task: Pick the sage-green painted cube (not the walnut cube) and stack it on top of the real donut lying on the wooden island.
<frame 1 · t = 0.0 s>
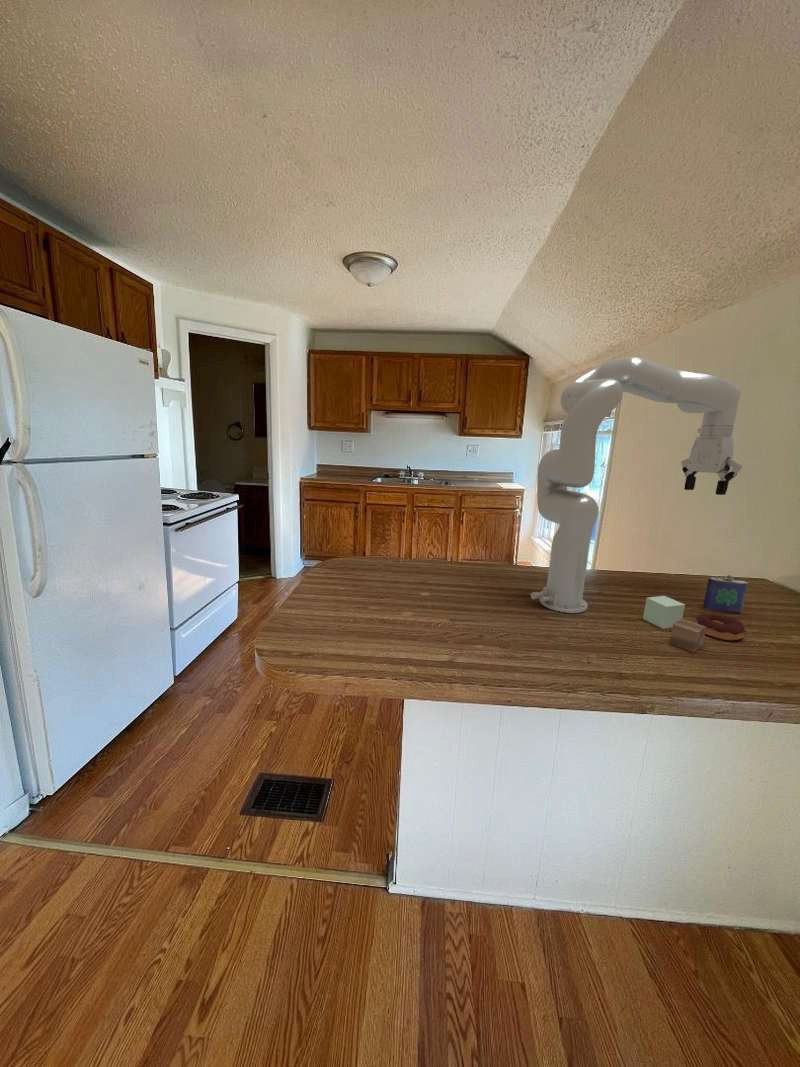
hand: (704, 492, 126), 31 cm above the table, fingers open, 9 cm apart
donut: (717, 634, 106), on the table
walnut block: (685, 645, 99), on the table
flask: (721, 611, 119), on the table
sage block: (661, 622, 110), on the table
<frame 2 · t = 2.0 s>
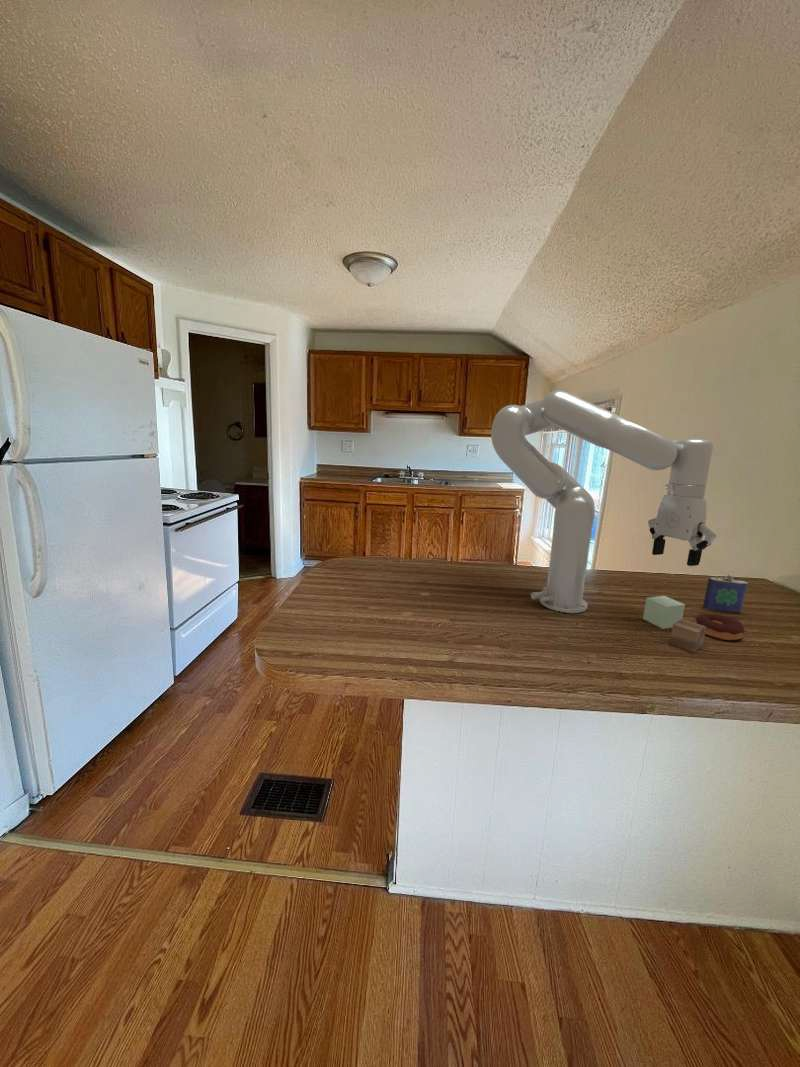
hand: (674, 559, 107), 17 cm above the table, fingers open, 9 cm apart
nothing on the table moved.
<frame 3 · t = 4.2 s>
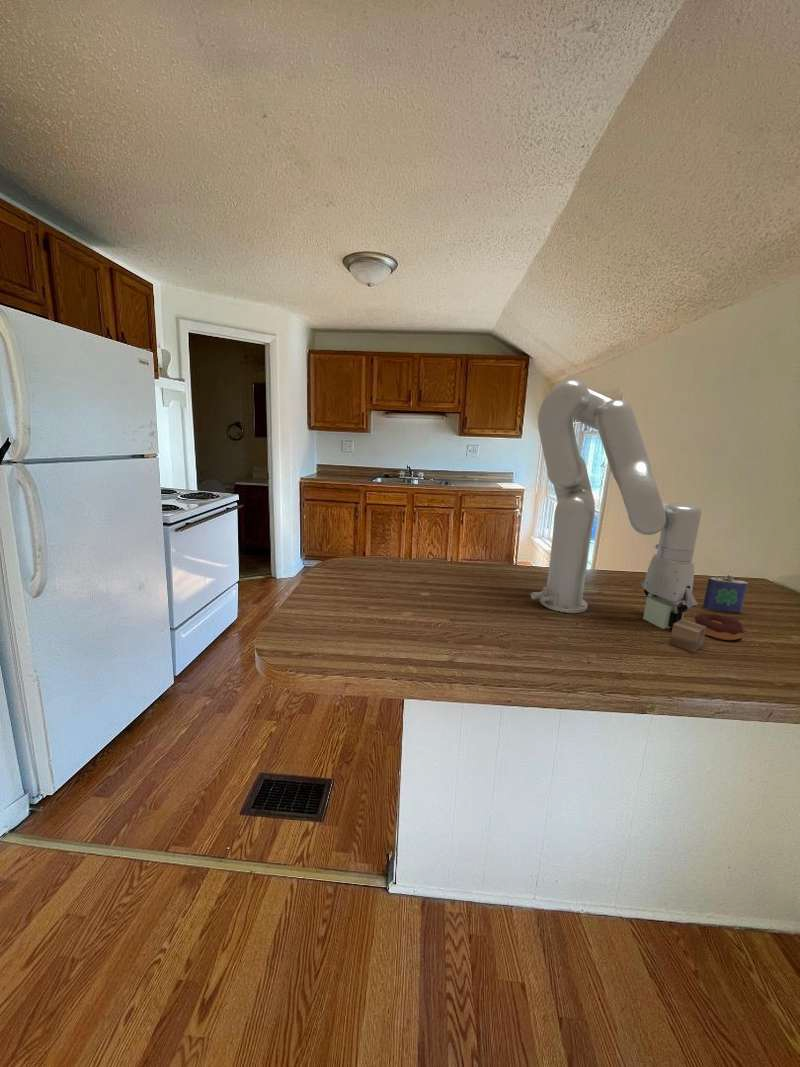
hand: (662, 620, 110), 1 cm above the table, fingers closed on sage block, 6 cm apart
sage block: (661, 622, 110), on the table, touching gripper
everything else where it was.
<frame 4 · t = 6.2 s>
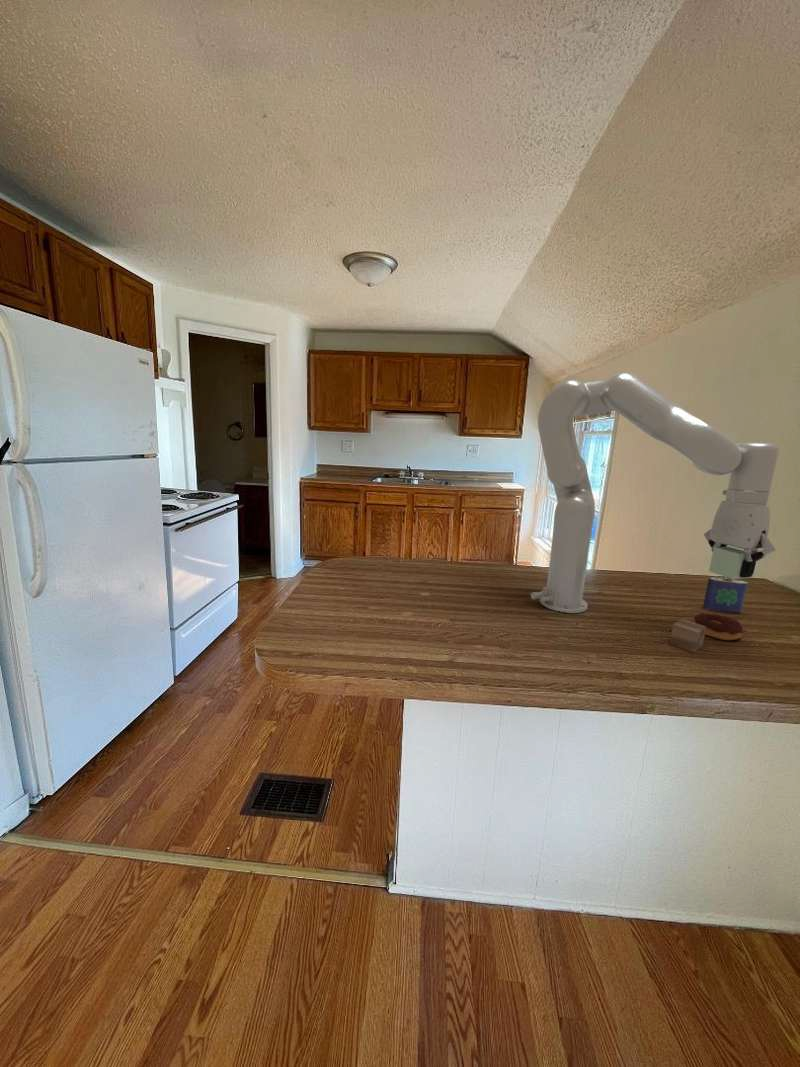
hand: (730, 571, 102), 16 cm above the table, fingers closed on sage block, 6 cm apart
sage block: (730, 574, 102), point 15 cm above the table, touching gripper
everything else where it was.
when the fingers open (7 cm above the table, at t = 8.3 s): sage block drops 2 cm, resting on donut.
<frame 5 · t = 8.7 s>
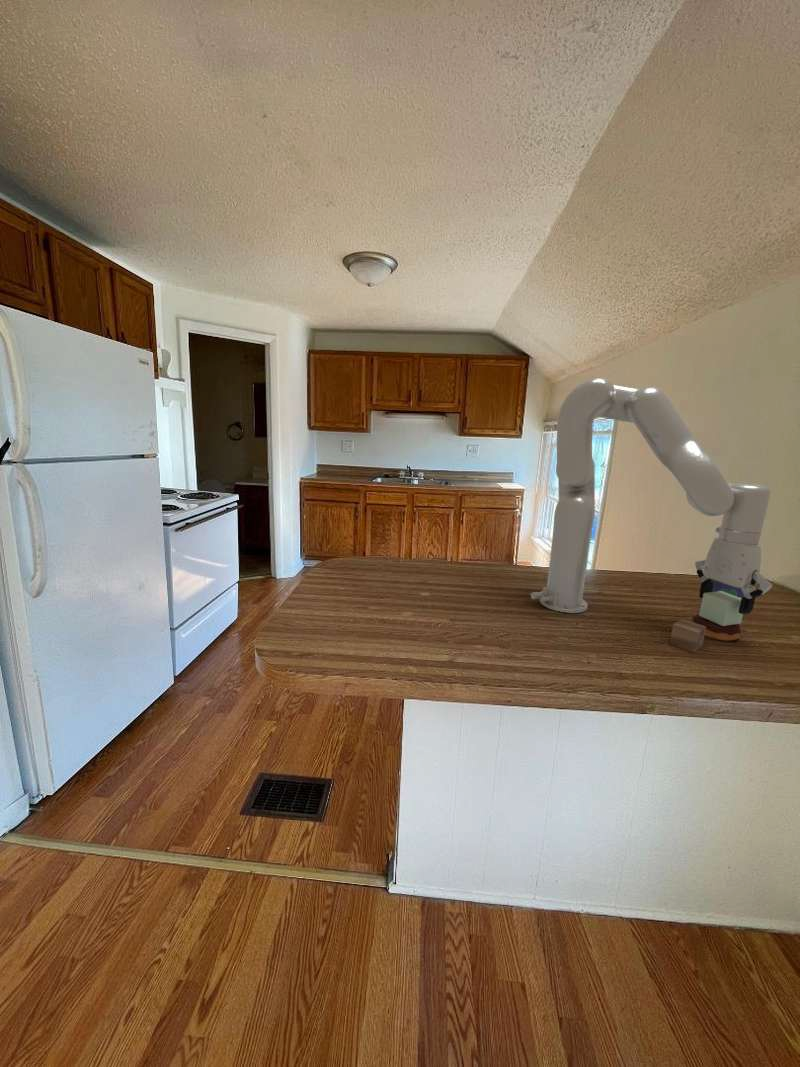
hand: (723, 604, 104), 7 cm above the table, fingers open, 9 cm apart
donut: (713, 634, 106), on the table, touching sage block
sage block: (719, 619, 105), point 3 cm above the table, touching donut
everything else where it was.
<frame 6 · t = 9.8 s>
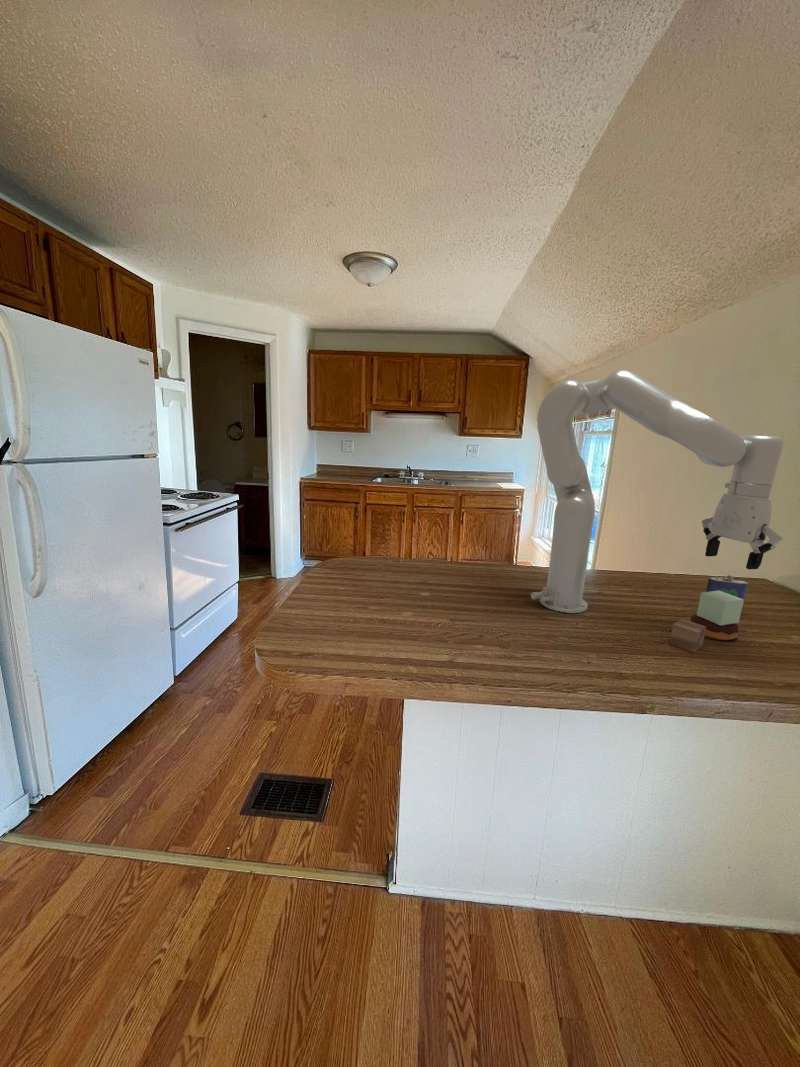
hand: (730, 562, 102), 18 cm above the table, fingers open, 9 cm apart
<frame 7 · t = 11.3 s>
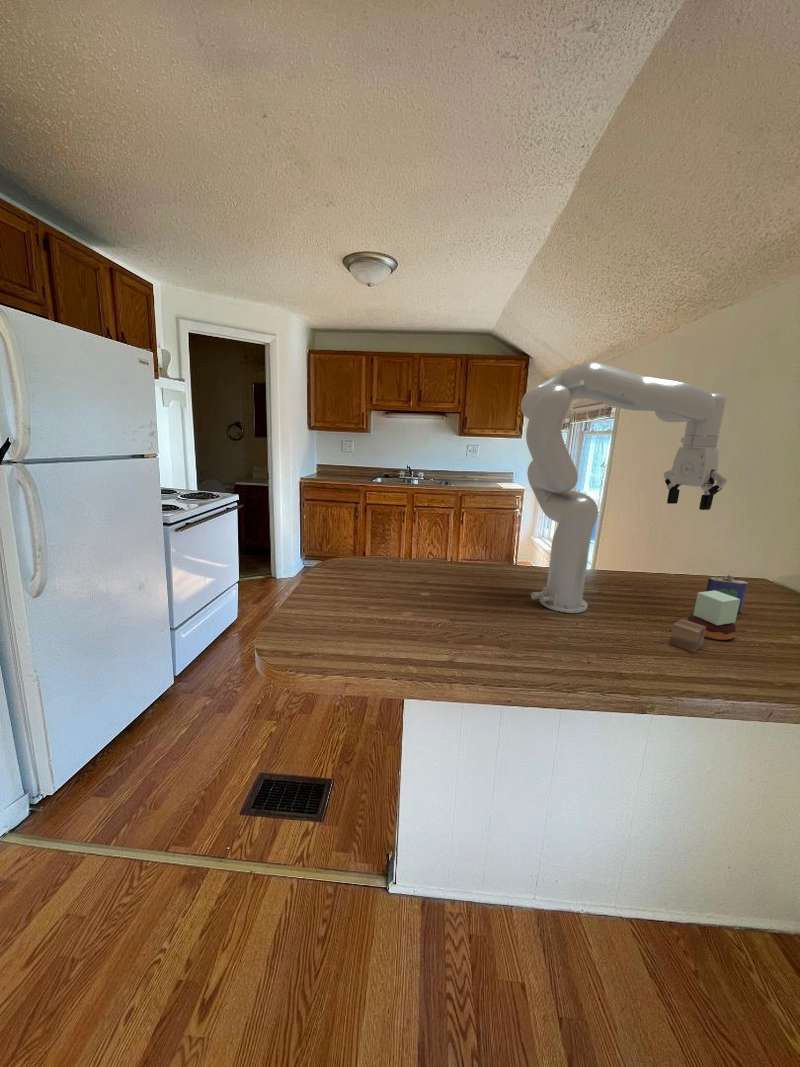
hand: (687, 506, 117), 28 cm above the table, fingers open, 9 cm apart
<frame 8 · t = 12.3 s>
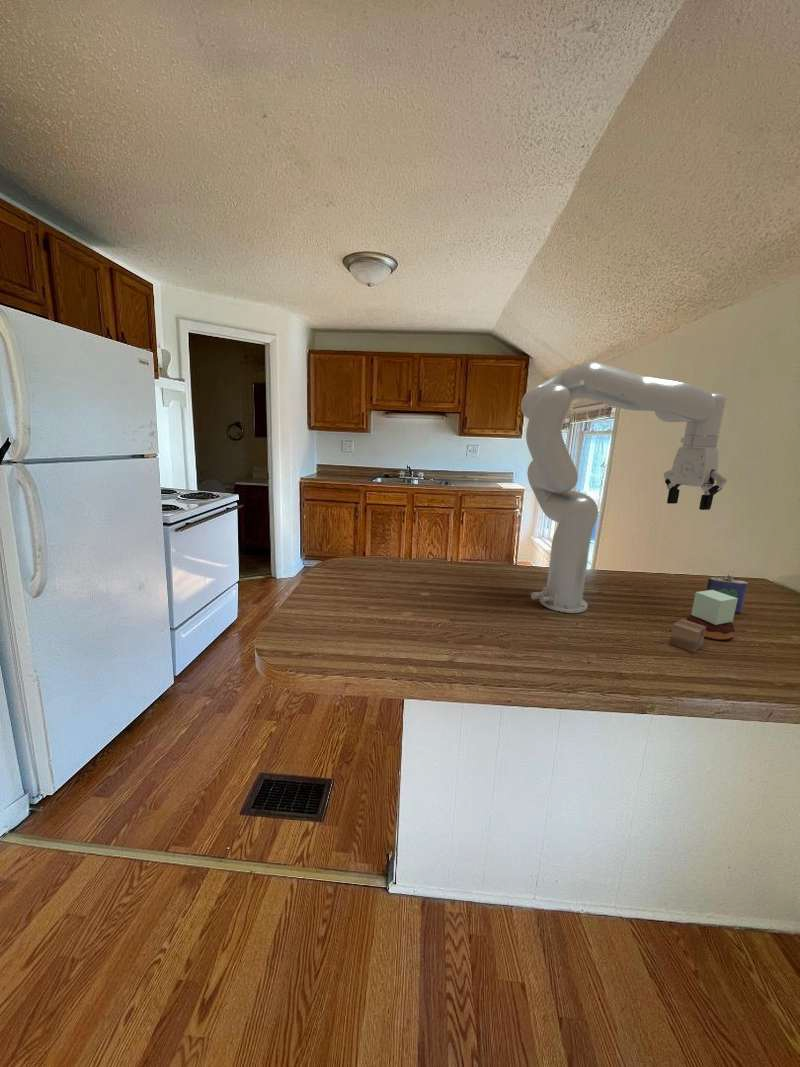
hand: (687, 506, 117), 28 cm above the table, fingers open, 9 cm apart
at the end: sage block inside the target area on the donut (0.3 cm from its centre), point 4.1 cm above the donut's base; sage block tilted 0°; sage block touching donut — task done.
